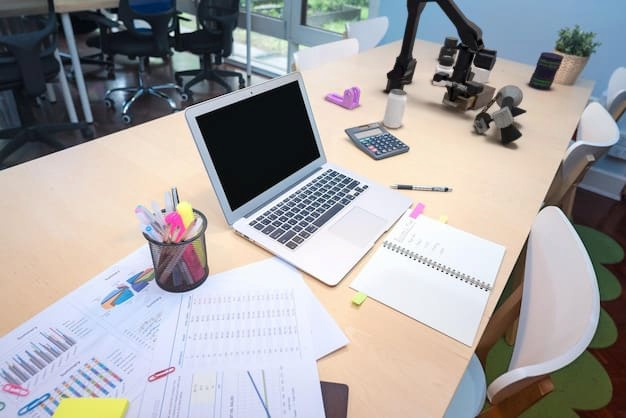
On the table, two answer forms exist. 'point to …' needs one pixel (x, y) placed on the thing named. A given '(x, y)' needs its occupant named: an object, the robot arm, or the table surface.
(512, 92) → the abstract shape sculpture
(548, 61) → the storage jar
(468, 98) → the drawer
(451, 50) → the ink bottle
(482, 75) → the white cube
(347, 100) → the bracket
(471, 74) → the robot arm
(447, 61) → the medicine bottle
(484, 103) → the organizer
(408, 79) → the pen holder
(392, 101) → the can
